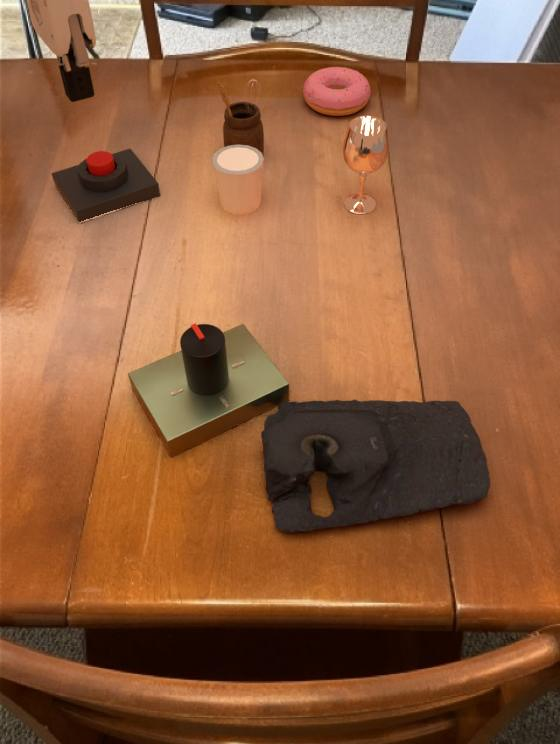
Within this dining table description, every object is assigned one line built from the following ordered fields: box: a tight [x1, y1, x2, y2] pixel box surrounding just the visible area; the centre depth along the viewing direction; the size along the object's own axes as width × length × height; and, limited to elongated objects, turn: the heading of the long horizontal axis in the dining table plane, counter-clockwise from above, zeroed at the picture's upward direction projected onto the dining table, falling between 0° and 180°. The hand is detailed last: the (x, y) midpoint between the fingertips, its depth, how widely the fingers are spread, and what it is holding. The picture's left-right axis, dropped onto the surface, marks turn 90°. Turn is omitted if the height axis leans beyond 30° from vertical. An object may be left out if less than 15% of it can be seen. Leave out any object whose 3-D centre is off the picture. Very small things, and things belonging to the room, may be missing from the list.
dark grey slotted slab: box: [260, 399, 491, 534], centre depth 66 cm, size 15×22×5 cm
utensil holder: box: [216, 78, 265, 156], centre depth 98 cm, size 6×6×12 cm
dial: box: [179, 322, 229, 395], centre depth 69 cm, size 4×4×6 cm
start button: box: [85, 150, 115, 176], centre depth 93 cm, size 4×4×2 cm
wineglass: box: [342, 115, 389, 215], centre depth 90 cm, size 6×6×12 cm
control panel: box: [127, 323, 290, 458], centre depth 72 cm, size 14×10×3 cm
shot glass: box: [211, 145, 265, 216], centre depth 92 cm, size 7×7×7 cm
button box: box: [51, 148, 161, 223], centre depth 95 cm, size 12×10×4 cm
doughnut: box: [301, 66, 372, 117], centre depth 110 cm, size 11×11×4 cm
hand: (80, 96), depth 85 cm, fingers closed
